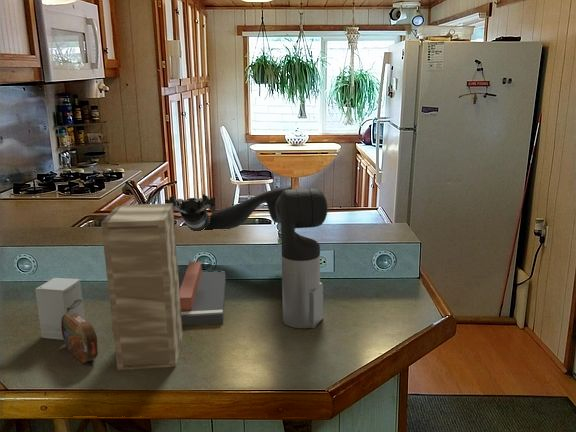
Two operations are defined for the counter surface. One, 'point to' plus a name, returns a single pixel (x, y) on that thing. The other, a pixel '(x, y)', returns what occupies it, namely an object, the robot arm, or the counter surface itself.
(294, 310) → the robot arm
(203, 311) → the mat
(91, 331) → the tin
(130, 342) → the shelf stand
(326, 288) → the counter surface
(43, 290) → the supplement box
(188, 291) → the bar
